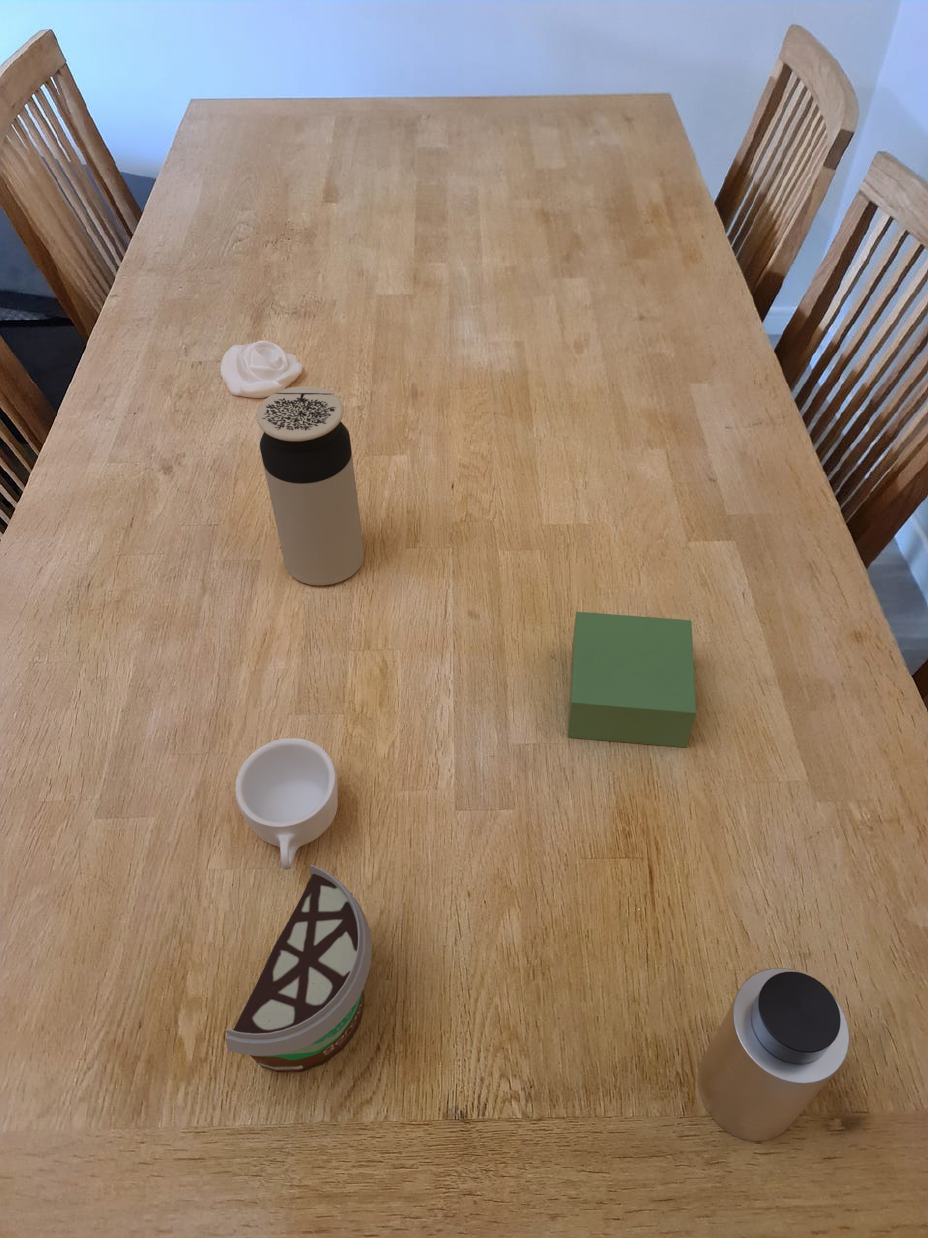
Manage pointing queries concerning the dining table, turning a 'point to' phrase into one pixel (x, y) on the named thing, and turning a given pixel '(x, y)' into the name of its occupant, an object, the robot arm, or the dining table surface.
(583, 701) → the green block
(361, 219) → the dining table surface
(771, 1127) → the flask
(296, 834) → the teacup
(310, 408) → the travel mug
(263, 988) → the food container
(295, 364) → the rose
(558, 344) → the dining table surface
